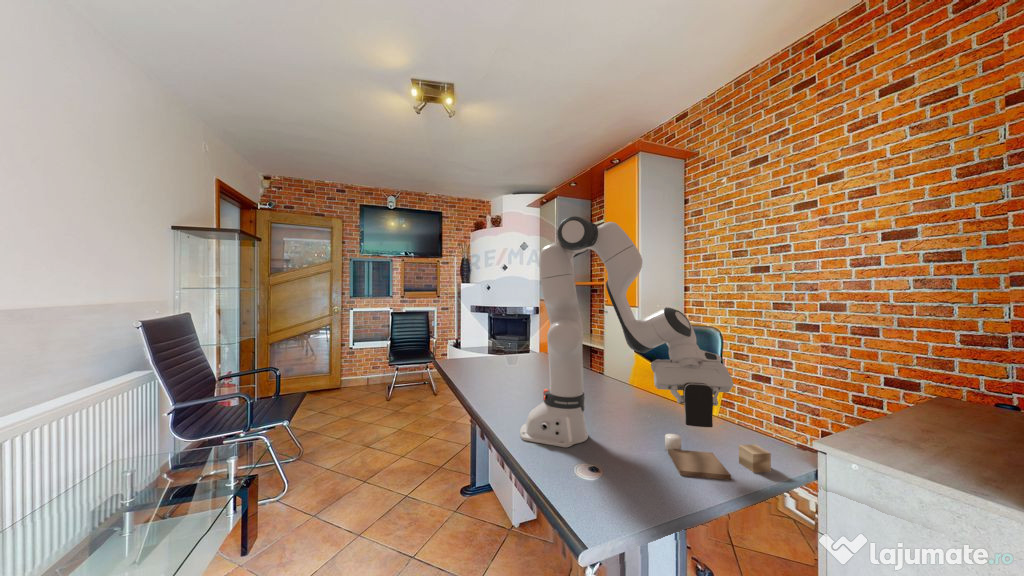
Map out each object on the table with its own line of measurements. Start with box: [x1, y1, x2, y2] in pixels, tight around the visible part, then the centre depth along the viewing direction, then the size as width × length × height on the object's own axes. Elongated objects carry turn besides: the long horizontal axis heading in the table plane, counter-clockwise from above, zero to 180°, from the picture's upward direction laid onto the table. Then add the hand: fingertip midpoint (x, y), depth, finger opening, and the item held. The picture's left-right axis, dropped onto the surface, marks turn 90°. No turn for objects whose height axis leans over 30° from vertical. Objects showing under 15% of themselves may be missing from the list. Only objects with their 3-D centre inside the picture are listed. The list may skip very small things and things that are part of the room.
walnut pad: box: [667, 449, 732, 481], centre depth 93 cm, size 12×12×1 cm
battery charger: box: [682, 382, 714, 428], centre depth 93 cm, size 7×4×11 cm, turn 75°
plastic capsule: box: [664, 433, 682, 452], centre depth 102 cm, size 4×4×4 cm
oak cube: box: [738, 444, 772, 473], centre depth 92 cm, size 5×5×5 cm
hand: (697, 403), depth 92 cm, fingers closed on battery charger, 7 cm apart
